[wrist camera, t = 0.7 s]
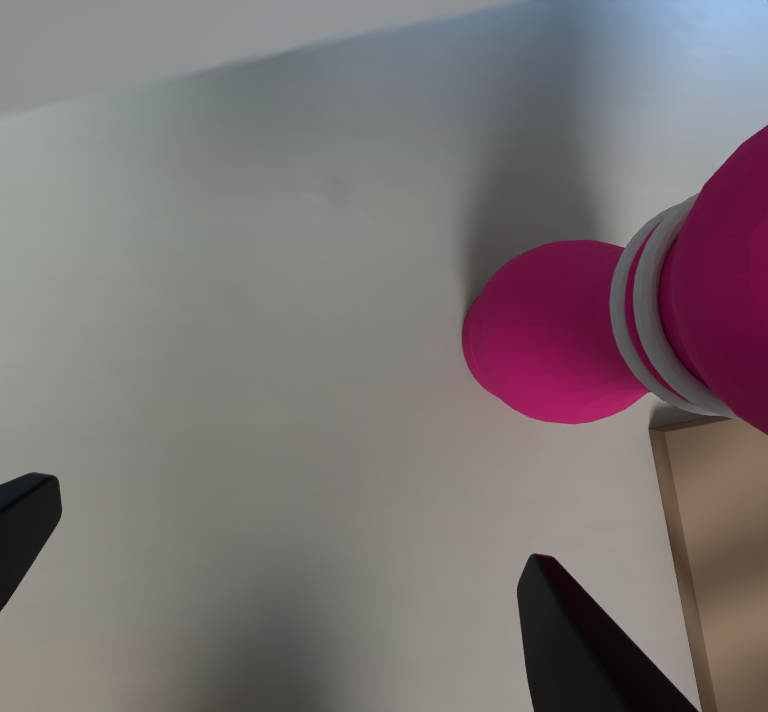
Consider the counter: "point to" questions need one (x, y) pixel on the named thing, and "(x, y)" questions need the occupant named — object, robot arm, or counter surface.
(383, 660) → the counter surface
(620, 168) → the counter surface
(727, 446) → the walnut board
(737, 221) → the pepper mill
